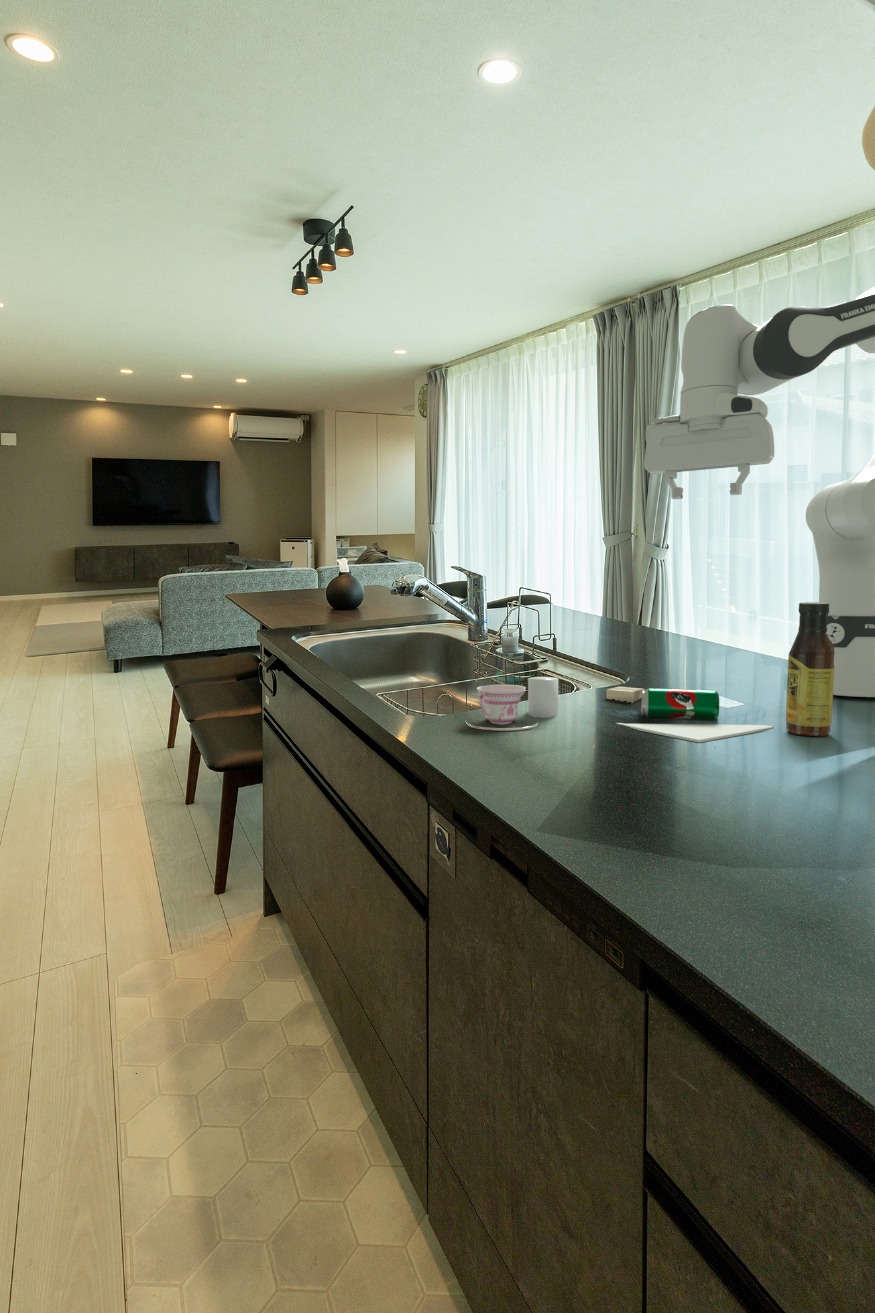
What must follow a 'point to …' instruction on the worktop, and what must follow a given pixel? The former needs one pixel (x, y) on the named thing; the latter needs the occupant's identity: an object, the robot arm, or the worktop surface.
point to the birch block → (624, 694)
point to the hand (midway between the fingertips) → (705, 496)
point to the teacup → (501, 705)
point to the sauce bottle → (810, 674)
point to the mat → (698, 730)
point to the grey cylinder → (543, 697)
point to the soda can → (680, 703)
